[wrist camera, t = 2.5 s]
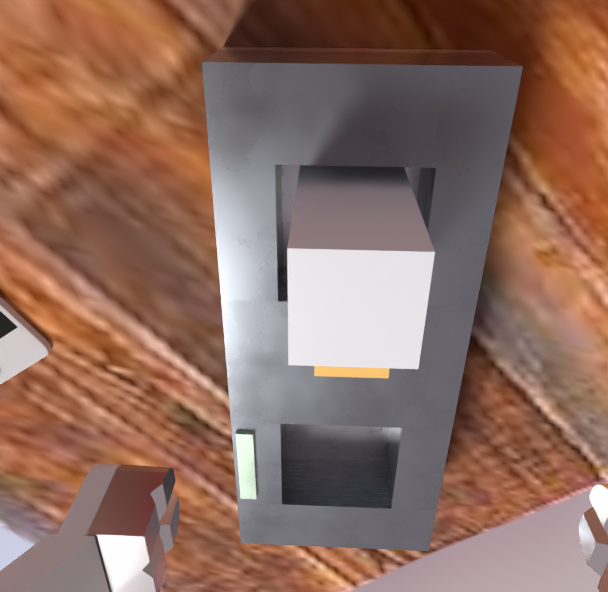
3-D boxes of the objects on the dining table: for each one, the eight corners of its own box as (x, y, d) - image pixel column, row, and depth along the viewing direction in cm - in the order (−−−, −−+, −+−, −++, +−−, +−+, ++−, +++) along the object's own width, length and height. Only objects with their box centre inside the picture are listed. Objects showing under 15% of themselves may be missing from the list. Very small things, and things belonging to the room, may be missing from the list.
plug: (300, 160, 22) (287, 248, 15) (402, 162, 22) (435, 251, 15) (300, 267, 24) (288, 385, 18) (391, 270, 24) (415, 389, 17)
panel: (223, 46, 21) (200, 62, 17) (490, 49, 21) (525, 67, 17) (250, 483, 33) (240, 546, 29) (418, 489, 33) (429, 554, 29)
